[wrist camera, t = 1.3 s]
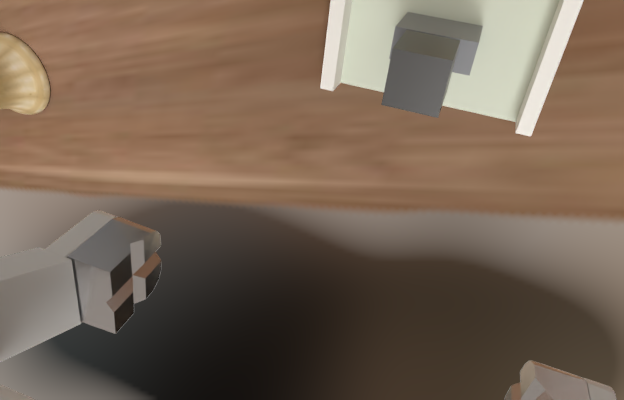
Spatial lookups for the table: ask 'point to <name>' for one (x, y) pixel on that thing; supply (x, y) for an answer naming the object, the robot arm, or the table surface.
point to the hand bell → (21, 77)
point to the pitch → (488, 60)
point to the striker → (427, 61)
